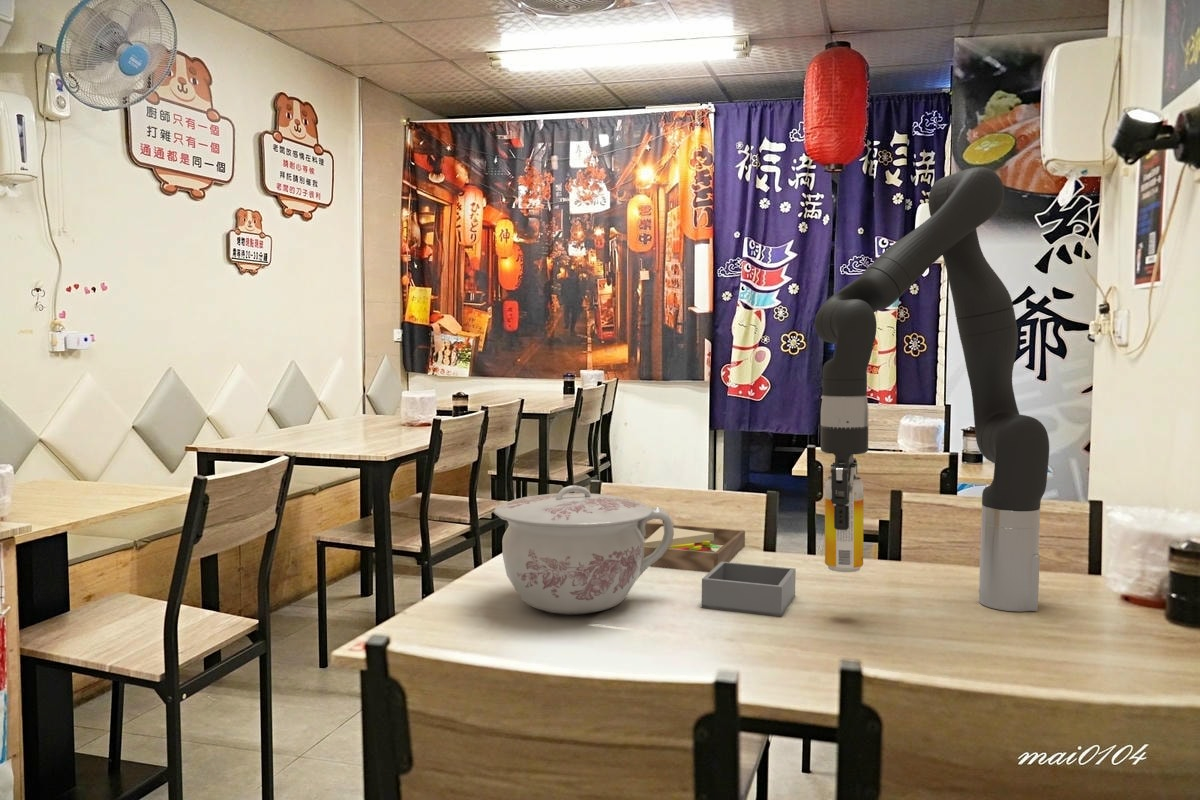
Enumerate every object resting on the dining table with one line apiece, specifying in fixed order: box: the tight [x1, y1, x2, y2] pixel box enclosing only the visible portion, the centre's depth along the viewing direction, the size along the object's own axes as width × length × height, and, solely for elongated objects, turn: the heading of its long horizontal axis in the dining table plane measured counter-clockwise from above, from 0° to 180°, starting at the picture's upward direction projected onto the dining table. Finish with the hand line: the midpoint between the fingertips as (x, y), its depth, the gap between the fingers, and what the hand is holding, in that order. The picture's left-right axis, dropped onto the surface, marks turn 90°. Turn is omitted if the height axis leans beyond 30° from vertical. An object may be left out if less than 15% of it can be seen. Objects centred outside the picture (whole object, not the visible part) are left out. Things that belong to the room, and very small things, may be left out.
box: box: [701, 561, 797, 618], centre depth 162 cm, size 14×14×5 cm
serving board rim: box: [643, 522, 746, 573], centre depth 197 cm, size 24×24×4 cm
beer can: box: [824, 476, 865, 573], centre depth 151 cm, size 6×6×15 cm
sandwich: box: [644, 526, 721, 552], centre depth 197 cm, size 15×20×5 cm
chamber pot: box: [493, 484, 674, 616], centre depth 159 cm, size 28×28×21 cm
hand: (844, 525), depth 151 cm, fingers closed on beer can, 6 cm apart
